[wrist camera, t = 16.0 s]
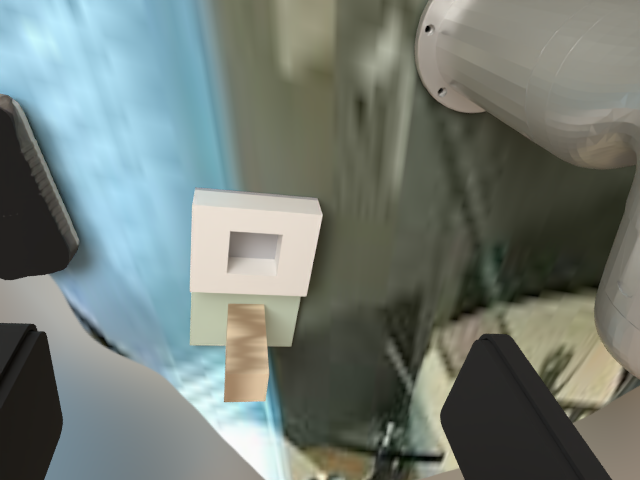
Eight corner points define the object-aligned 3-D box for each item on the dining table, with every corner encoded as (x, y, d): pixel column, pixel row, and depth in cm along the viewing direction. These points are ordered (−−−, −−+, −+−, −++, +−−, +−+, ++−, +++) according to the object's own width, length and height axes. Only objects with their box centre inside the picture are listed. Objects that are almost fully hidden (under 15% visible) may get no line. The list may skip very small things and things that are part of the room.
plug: (264, 304, 51) (269, 373, 42) (261, 330, 53) (265, 401, 45) (228, 303, 50) (225, 373, 42) (226, 330, 52) (224, 402, 44)
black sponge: (90, 249, 45) (79, 270, 42) (2, 260, 44) (-16, 283, 41) (22, 82, 36) (2, 94, 33) (-90, 93, 36) (-122, 106, 32)
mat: (301, 283, 51) (302, 289, 50) (290, 340, 56) (291, 346, 55) (192, 278, 49) (191, 284, 48) (190, 338, 53) (189, 345, 52)
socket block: (317, 198, 46) (322, 215, 43) (302, 276, 51) (306, 296, 48) (195, 187, 43) (192, 204, 40) (192, 271, 48) (189, 291, 45)
